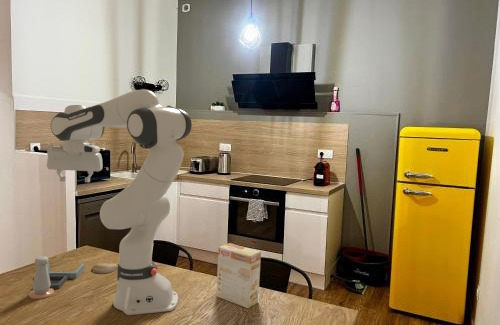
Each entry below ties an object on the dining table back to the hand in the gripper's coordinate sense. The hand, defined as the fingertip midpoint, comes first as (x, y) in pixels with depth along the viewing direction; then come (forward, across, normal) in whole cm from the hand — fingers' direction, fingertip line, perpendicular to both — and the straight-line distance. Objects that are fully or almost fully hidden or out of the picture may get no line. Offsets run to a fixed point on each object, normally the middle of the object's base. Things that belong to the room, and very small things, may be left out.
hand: (75, 181), depth 146 cm
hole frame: (+39, -6, -7) cm, 40 cm away
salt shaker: (+39, -6, -16) cm, 42 cm away
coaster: (+39, -6, -16) cm, 43 cm away
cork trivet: (+39, +10, +8) cm, 41 cm away
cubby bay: (+39, -6, +3) cm, 40 cm away
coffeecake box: (+39, +65, -20) cm, 79 cm away
